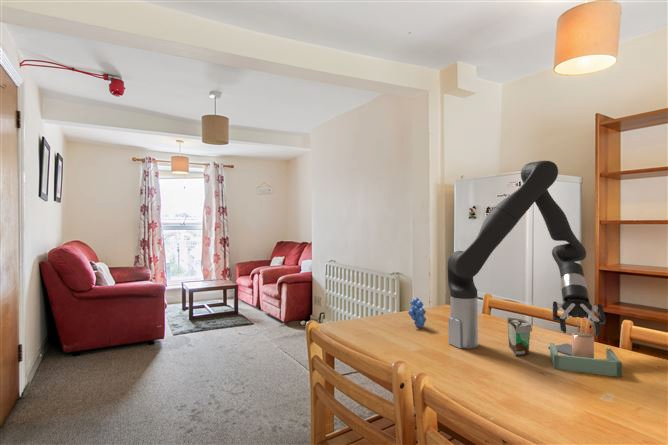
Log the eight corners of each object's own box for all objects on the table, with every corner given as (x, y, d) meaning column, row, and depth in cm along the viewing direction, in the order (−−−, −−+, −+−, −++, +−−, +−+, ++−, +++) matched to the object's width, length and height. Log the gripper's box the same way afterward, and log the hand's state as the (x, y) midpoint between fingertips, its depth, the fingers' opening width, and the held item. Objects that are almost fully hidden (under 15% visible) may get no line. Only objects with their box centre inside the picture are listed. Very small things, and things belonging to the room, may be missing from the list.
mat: (573, 357, 122) (573, 355, 122) (548, 348, 131) (548, 346, 131) (592, 353, 126) (592, 351, 126) (566, 345, 134) (566, 343, 134)
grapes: (402, 323, 166) (402, 296, 166) (417, 322, 167) (416, 295, 167) (414, 331, 154) (413, 301, 154) (429, 329, 156) (429, 300, 156)
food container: (537, 359, 122) (537, 327, 122) (517, 357, 123) (516, 326, 123) (526, 346, 134) (526, 317, 134) (507, 345, 135) (507, 317, 135)
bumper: (622, 377, 107) (621, 362, 107) (554, 368, 113) (554, 355, 113) (611, 361, 118) (610, 348, 118) (550, 354, 125) (550, 342, 125)
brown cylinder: (586, 369, 112) (585, 338, 112) (568, 363, 118) (567, 333, 118) (598, 366, 115) (598, 336, 115) (580, 360, 120) (579, 331, 120)
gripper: (550, 282, 130) (555, 324, 120) (600, 284, 124) (610, 329, 114) (549, 295, 135) (553, 336, 125) (597, 297, 129) (606, 341, 119)
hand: (580, 333), depth 119 cm, fingers open, 8 cm apart
